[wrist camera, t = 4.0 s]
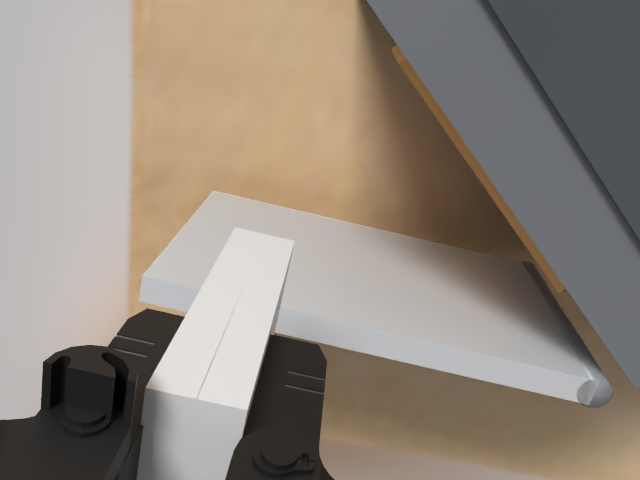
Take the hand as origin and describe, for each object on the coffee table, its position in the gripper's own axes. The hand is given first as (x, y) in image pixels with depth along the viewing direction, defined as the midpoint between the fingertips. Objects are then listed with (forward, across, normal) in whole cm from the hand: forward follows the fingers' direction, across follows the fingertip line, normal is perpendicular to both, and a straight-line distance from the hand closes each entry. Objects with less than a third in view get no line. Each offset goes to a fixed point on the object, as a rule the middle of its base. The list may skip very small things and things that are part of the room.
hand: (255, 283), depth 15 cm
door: (+14, -4, +4) cm, 16 cm away
